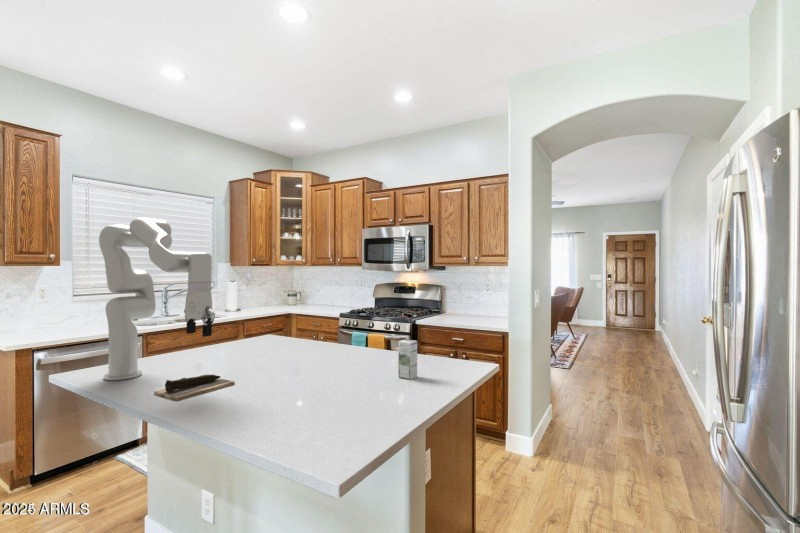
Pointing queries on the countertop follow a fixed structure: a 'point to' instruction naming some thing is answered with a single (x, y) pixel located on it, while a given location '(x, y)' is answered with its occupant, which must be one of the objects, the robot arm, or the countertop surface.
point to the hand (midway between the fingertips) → (198, 334)
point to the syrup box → (407, 359)
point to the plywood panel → (194, 389)
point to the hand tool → (189, 382)
